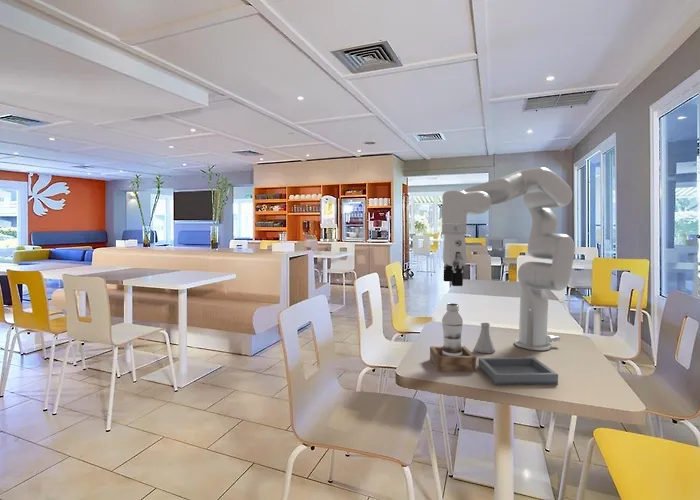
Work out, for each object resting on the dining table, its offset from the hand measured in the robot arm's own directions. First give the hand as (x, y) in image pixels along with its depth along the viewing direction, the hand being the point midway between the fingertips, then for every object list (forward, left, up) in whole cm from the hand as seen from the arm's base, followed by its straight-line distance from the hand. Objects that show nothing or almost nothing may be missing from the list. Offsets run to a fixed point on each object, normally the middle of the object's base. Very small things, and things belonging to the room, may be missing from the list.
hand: (452, 283), depth 126 cm
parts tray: (-17, +9, -27) cm, 33 cm away
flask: (-16, -14, -27) cm, 35 cm away
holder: (0, 0, -27) cm, 27 cm away
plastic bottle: (0, 0, -27) cm, 27 cm away
